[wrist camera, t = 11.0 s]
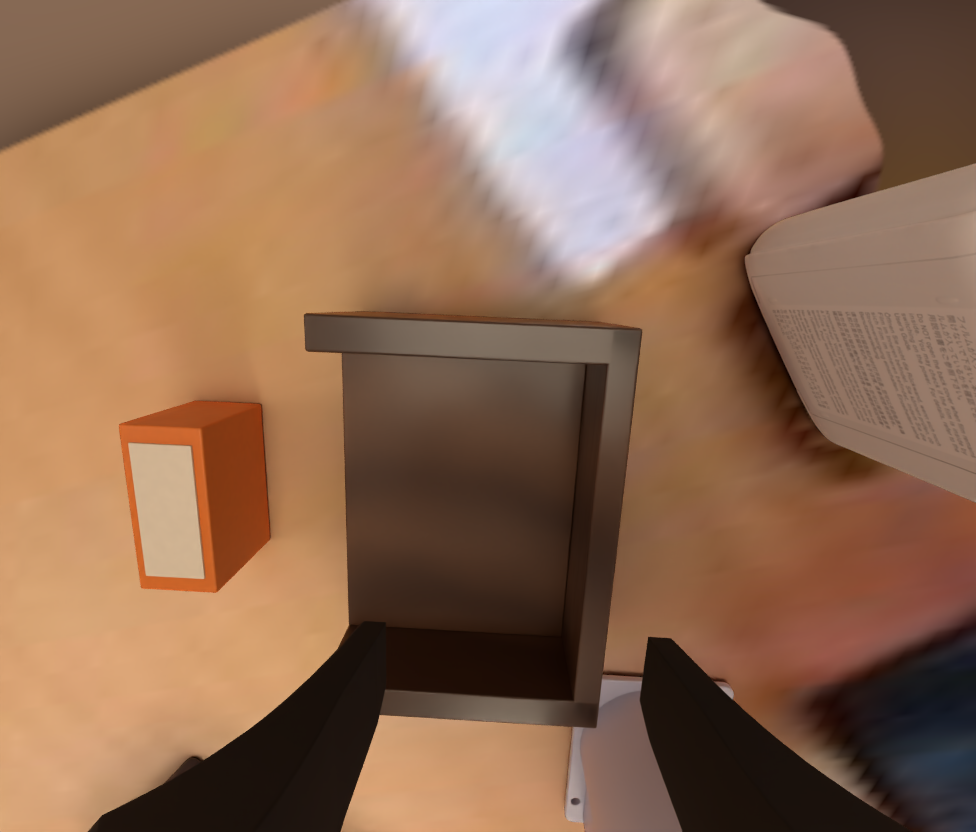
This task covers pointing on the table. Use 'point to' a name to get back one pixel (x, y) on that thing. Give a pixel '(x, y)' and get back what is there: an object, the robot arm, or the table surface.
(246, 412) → the packet
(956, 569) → the table surface
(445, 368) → the shelf
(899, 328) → the white piece
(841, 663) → the table surface
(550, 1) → the table surface
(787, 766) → the robot arm
